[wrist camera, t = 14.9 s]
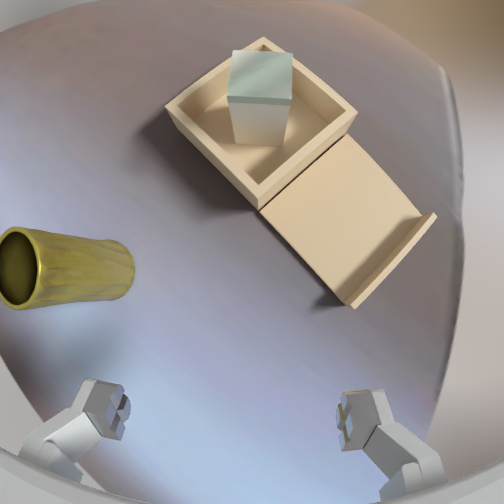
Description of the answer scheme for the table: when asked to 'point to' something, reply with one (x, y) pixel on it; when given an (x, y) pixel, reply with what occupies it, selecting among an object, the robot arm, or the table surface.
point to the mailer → (309, 180)
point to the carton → (260, 96)
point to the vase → (60, 269)
